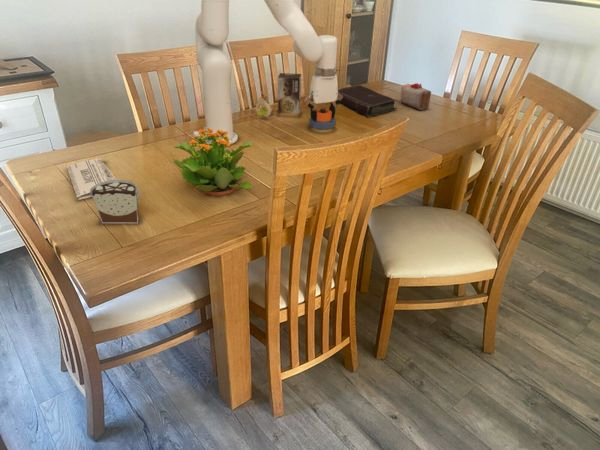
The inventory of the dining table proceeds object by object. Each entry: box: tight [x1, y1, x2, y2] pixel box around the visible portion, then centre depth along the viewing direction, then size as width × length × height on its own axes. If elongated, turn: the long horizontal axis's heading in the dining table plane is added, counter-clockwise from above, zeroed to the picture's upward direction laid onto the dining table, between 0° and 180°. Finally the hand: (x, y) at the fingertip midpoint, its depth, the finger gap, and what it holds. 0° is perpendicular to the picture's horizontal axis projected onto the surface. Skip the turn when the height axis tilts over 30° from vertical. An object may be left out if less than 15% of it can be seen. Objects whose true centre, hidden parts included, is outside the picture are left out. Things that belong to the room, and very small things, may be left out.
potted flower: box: [172, 128, 254, 197], centre depth 135 cm, size 25×24×18 cm
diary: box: [337, 84, 399, 118], centre depth 207 cm, size 19×25×5 cm
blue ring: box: [308, 117, 337, 131], centre depth 182 cm, size 10×10×2 cm
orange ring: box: [316, 108, 332, 122], centre depth 181 cm, size 6×6×3 cm
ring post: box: [309, 107, 336, 131], centre depth 182 cm, size 10×10×8 cm
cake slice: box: [89, 178, 141, 225], centre depth 122 cm, size 12×6×10 cm, turn 92°
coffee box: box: [277, 72, 302, 115], centre depth 193 cm, size 9×6×16 cm
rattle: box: [255, 90, 272, 118], centre depth 190 cm, size 8×8×12 cm
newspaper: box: [66, 157, 117, 201], centre depth 142 cm, size 23×12×2 cm, turn 30°
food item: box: [400, 82, 432, 111], centre depth 208 cm, size 14×8×10 cm, turn 33°
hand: (322, 118), depth 181 cm, fingers open, 7 cm apart
